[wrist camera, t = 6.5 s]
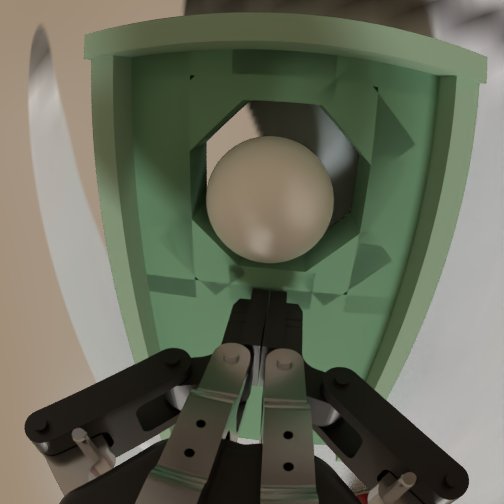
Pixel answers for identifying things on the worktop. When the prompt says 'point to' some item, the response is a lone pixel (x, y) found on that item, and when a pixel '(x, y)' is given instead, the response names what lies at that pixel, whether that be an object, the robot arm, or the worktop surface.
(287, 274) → the putting mat
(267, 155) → the golf ball
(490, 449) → the worktop surface
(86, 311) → the worktop surface
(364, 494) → the soda can
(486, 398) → the worktop surface
